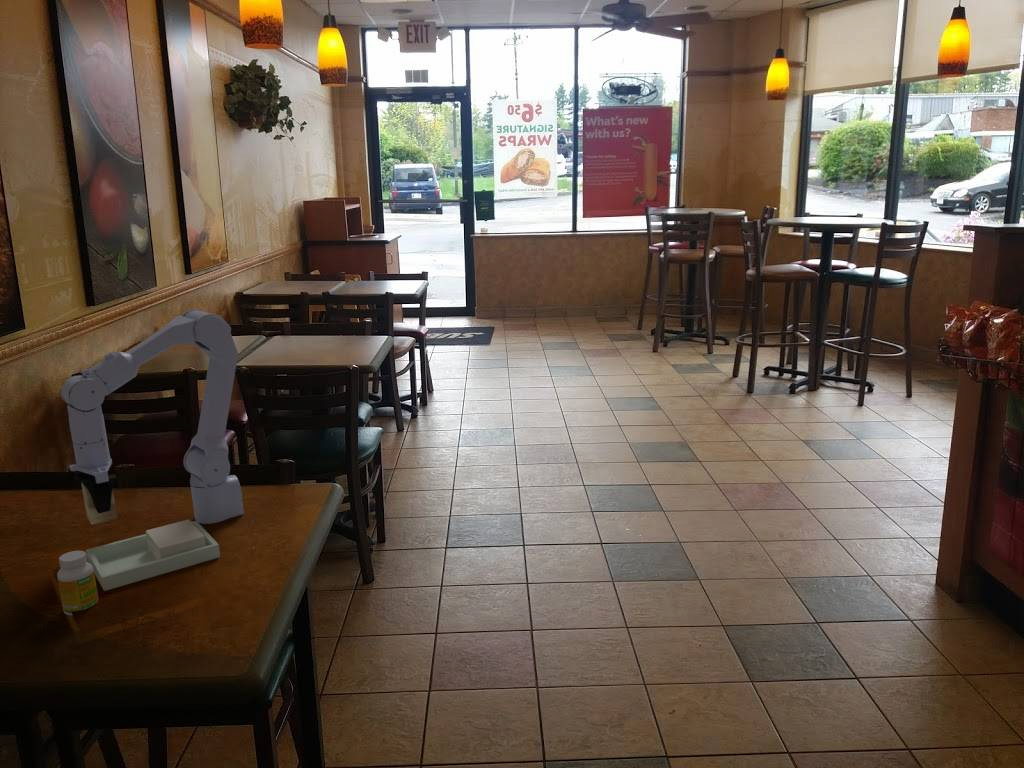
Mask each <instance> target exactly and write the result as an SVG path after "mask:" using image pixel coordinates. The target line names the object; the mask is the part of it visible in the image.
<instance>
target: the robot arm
mask: <svg viewBox="0 0 1024 768" xmlns="http://www.w3.org/2000/svg"><path fill="white" fill-rule="evenodd" d="M231 332H232V326H230V324H228V322H226V320H225V319H224V318H223V317H222V316H221V315H219V314H217V313H216V314H215V313H209V312H205V311H202V310H200V309H198V308H194V309H193V308H192V309H189V310H186V311H185V312H184V313H183V314H182V315H178V316H176V317H173V318H172V319H171V320H170V321H169V322H168V323H166V324H165V325H164V326H162V327H161V328H160V329H158V330H157V331H156V332H154V333H153V334H152V335H150V336H148V337H147V338H146V339H144V340H143V341H141V342H140V343H139V344H137V345H135V346H134V347H133V348H132V349H130V350H128V351H126V352H123V351H115V352H114V353H112V352H110V351H109V352H107V353H105V354H104V355H103V357H104V359H102V360H101V361H99V362H98V363H96V364H95V365H93V366H92V367H90V368H84V369H82V370H81V371H80V373H81V374H82V375H74V376H71V377H69V378H67V379H66V380H65V381H64V382H63V385H62V387H61V391H60V392H59V394H60V397H61V400H63V402H65V403H66V404H67V405H66V406H67V414H68V422H69V430H70V434H71V435H70V436H71V440H72V446H73V451H74V452H73V453H74V458H75V464H70V465H69V470H70V472H75V474H76V475H77V476H78V477H79V479H80V480H81V483H83V484H84V486H85V487H86V488H87V489H88V491H89V493H90V495H91V497H92V500H93V503H94V506H95V508H96V510H97V512H98V513H103V512H107V511H110V508H111V496H112V489H113V490H114V485H115V484H116V481H117V475H116V474H115V473H114V474H109V473H108V471H109V470H110V468H111V466H112V465H113V460H112V458H111V455H110V449H109V443H108V436H107V430H106V424H105V418H104V414H103V410H102V404H103V403H104V400H105V396H108V395H110V394H111V393H113V392H115V391H116V390H117V389H119V388H121V387H122V386H124V385H125V384H127V383H128V382H130V381H132V379H134V378H136V377H137V376H138V372H139V368H140V366H142V365H144V364H146V363H148V362H149V361H150V360H152V359H154V358H156V357H157V356H159V355H161V354H162V353H165V352H166V351H168V350H169V349H172V348H173V347H174V346H176V345H178V346H180V345H182V346H183V345H196V346H198V347H199V348H200V350H201V351H202V352H203V353H204V354H205V355H206V357H208V366H207V372H206V377H205V383H204V389H203V390H204V391H203V396H202V403H201V408H200V413H199V415H200V416H199V420H198V427H197V433H196V434H195V435H194V436H193V437H192V438H191V440H190V441H191V442H190V446H189V448H188V450H186V453H185V454H184V456H183V466H184V469H185V470H186V472H188V473H190V479H189V484H190V492H191V499H192V507H193V514H194V519H195V520H194V521H197V522H198V523H199V524H203V525H204V524H205V525H207V524H208V525H209V524H217V523H220V522H223V521H226V520H228V519H231V518H235V517H238V516H242V515H245V510H244V504H243V503H244V502H243V494H242V487H241V485H240V481H239V479H238V477H237V475H235V474H230V472H231V463H230V460H229V447H228V444H227V441H226V439H225V435H226V431H227V424H228V419H229V418H228V417H229V412H230V406H231V405H230V404H231V399H232V395H233V387H234V381H235V375H236V369H237V362H238V357H239V356H238V355H239V354H238V349H237V347H236V344H235V342H234V338H233V336H232V333H231Z"/></svg>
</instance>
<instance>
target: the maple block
mask: <svg viewBox="0 0 1024 768" xmlns="http://www.w3.org/2000/svg"><path fill="white" fill-rule="evenodd" d="M80 484H81V489H82V496H83V502H84V508H85V513H86V518H87V520H88V521H89V523H90V524H91V525H97V524H100V523H104V522H109V521H112V520H116V519H118V513H117V507H116V502H115V495H114V488H113V489H112V496H111V508H110V511H107V512H103V513H98V512H97V510H96V508H95V506H94V503H93V500H92V497H91V495H90V493H89V491H88V489H87V488H86V487H85V486H84V484H83V483H82V482H81V483H80Z"/></svg>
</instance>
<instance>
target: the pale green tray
mask: <svg viewBox="0 0 1024 768" xmlns="http://www.w3.org/2000/svg"><path fill="white" fill-rule="evenodd" d="M191 522H192V523H193V524H194V525H195V527H196V528H197V529H198V530H199V531H200V532H201V533H202V534H203V535H204V536H205V543H206V546H205V547H202V548H198V549H195V550H191V551H187V552H184V553H180V554H177V555H173V556H170V557H166V558H163V559H159V560H156V559H155V558H154V556H153V555H152V554H151V552H150V551H149V549H148V542H147V536H146V533H145V534H142V535H141V534H140V535H137V536H133V537H129V538H125V539H123V540H122V539H121V540H117V541H114V542H110V543H107V544H102V545H98V546H95V547H91V548H88V549H85V553H86V557H87V562H88V563H90V564H91V565H92V566H93V569H94V575H95V578H96V579H97V580H98V583H99V584H100V586H101V588H102V589H103V591H104V592H107V591H110V590H112V589H116V588H119V587H123V586H127V585H129V584H133V583H137V582H139V581H143V580H146V579H150V578H153V577H157V576H160V575H163V574H166V573H167V574H168V573H171V572H174V571H177V570H180V569H181V570H182V569H184V568H188V567H191V566H195V565H197V564H200V563H201V564H202V563H204V562H208V561H211V560H215V559H219V558H221V554H220V553H221V552H220V545H219V542H217V541H216V540H215V539H214V538H213V537H212V536H211V535H210V534H209V533H208V532H207V531H206V529H204V527H203V525H201V523H198V522H197V521H196V520H194V521H191Z"/></svg>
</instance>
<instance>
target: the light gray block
mask: <svg viewBox="0 0 1024 768" xmlns="http://www.w3.org/2000/svg"><path fill="white" fill-rule="evenodd" d="M192 522H193V521H191V520H190V519H185V520H182V521H178V522H174V523H173V522H172V523H170V524H166V525H162V526H158V527H154V528H151V529H145V534H146V536H147V542H148V549H149V551H150V552H151V554H152V555H153V556H154V558H155V559H156V560H159V559H163V558H166V557H170V556H173V555H177V554H180V553H184V552H187V551H191V550H195V549H198V548H202V547H205V546H206V543H205V536H204V535H203V534H202V533H201V532H200V531H199V530H198V529H197V528H196V527H195V525H194V524H193V523H192Z"/></svg>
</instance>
